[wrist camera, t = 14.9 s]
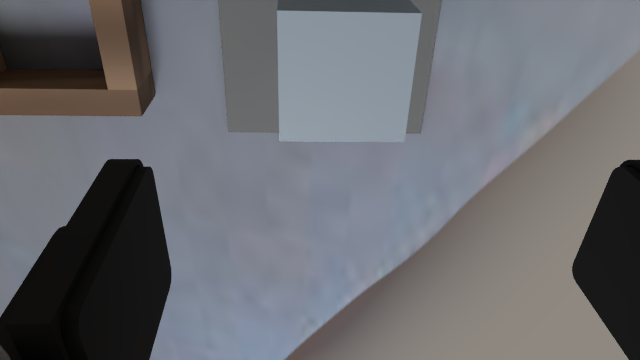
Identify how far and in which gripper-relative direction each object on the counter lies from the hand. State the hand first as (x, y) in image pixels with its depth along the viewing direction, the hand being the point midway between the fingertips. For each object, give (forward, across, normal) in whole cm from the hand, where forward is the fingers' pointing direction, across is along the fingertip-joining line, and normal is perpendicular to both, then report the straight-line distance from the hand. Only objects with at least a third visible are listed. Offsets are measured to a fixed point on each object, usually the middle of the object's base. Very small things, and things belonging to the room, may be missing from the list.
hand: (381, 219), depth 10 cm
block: (+19, 0, +1) cm, 19 cm away
